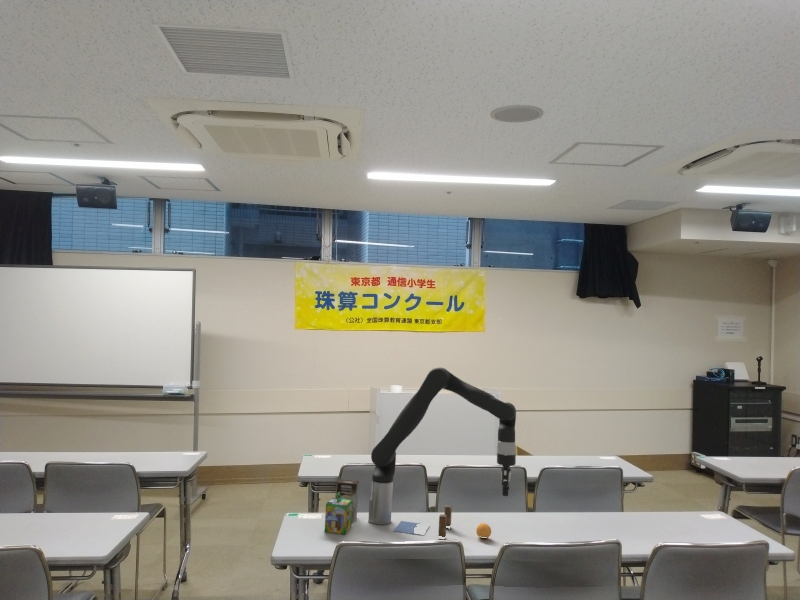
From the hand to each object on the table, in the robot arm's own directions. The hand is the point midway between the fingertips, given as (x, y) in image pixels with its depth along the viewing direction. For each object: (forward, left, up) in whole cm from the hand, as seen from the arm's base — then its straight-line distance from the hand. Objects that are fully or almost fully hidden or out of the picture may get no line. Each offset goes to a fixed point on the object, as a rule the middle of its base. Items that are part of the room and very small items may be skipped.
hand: (505, 493), depth 208 cm
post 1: (-24, -7, -19) cm, 32 cm away
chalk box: (-66, -14, -19) cm, 71 cm away
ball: (-8, 0, -16) cm, 18 cm away
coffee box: (-68, 0, -19) cm, 71 cm away
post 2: (-24, +6, -19) cm, 32 cm away
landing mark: (-38, 0, -19) cm, 43 cm away
